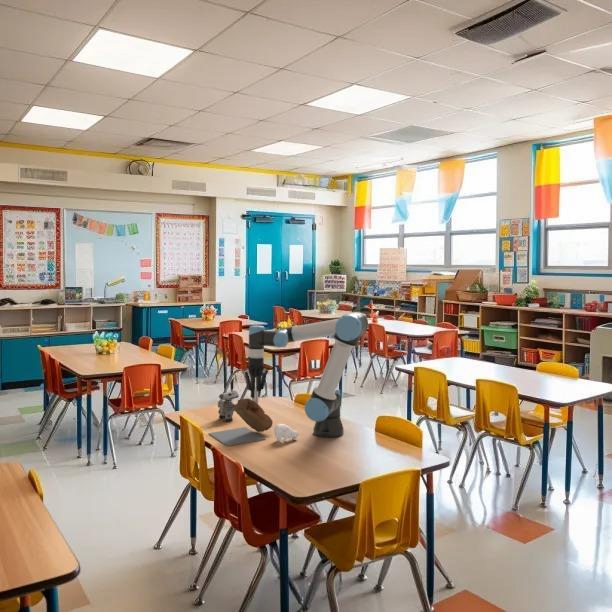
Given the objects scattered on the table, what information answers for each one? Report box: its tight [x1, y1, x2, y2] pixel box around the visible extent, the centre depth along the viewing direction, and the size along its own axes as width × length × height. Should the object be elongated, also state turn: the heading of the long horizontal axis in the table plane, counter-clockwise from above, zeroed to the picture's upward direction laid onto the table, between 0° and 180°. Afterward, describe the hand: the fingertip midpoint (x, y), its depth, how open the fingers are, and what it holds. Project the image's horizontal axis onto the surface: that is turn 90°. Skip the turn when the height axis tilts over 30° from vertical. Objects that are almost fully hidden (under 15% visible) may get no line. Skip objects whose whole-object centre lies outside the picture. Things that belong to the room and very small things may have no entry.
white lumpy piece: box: [273, 423, 299, 444], centre depth 286 cm, size 6×8×12 cm
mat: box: [208, 426, 266, 447], centre depth 292 cm, size 22×20×1 cm
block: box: [234, 398, 274, 433], centre depth 295 cm, size 11×8×20 cm
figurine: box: [217, 390, 239, 423], centre depth 323 cm, size 9×12×15 cm
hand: (255, 403), depth 296 cm, fingers closed
